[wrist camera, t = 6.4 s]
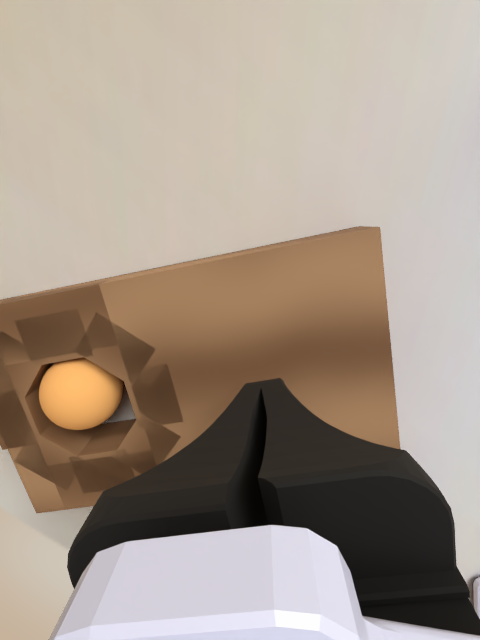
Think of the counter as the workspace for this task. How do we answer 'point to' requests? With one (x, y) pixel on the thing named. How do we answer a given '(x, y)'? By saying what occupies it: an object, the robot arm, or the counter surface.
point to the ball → (79, 394)
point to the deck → (198, 355)
